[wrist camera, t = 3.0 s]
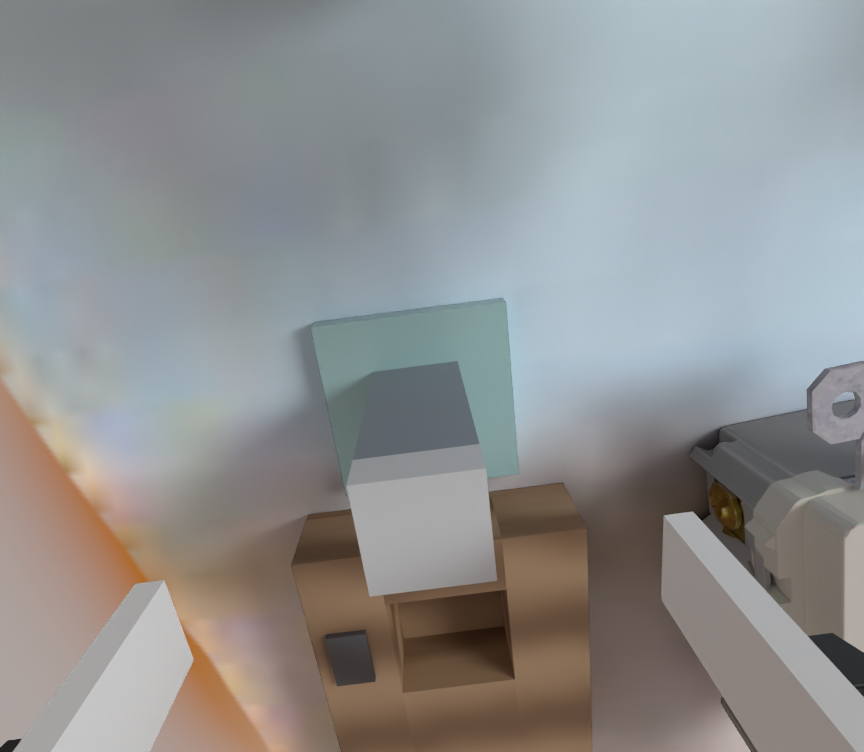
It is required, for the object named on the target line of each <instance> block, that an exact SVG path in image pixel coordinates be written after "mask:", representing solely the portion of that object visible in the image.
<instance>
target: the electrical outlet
mask: <svg viewBox="0 0 864 752" xmlns="http://www.w3.org/2000/svg"><path fill="white" fill-rule="evenodd" d="M843 392H853V393H854V396H855V399H856V400H851V401H846V402H841V403H836V404H833V401H834V399H835V398H837V397H838V396H839V395H840V394H842V393H843ZM719 439H720V441H719V443H718V445H717V446H716V447H715V448H714V449H711V450H705V449H702V448H699V447H697V446H695V447H694V448H693V450H692V452H691V454H690V455H689V456H690V457H691V458H692V459H693V460H694V461H696V462H697V463H698V464H699V465H700V466H702V467H703V468H704V469H705V470H706V476H707V489H708V502H709V511H710V513H711V514H710V515H709V516H708V517H706V518H705V519H704V520H703V521H702V522H703V523H704V524H705V525H706V526H707V527H708V528H709V530H710V531H711V532H712V533H713V534H714V535H715V536H716V537H717V538H718V539H719V540H720V542H721V543H722V544H723V545H724V546H725V547H726V548H727V549H728V550H729V551H730V552H731V553H732V555H733V556H734V557H735V558H736V559H737V560H738V561H739V562H740V563H741V564H742V565H743V566H744V568H745V569H746V570H747V571H748V572H749V573H750V574H751V575H752V576H753V577H754V578H755V580H756V581H757V582H758V583H759V584H760V585H761V586H762V587H763V588H764V589H765V590H766V591H767V593H768V594H769V595H770V596H771V597H772V598H773V599H774V600H775V601H776V602H777V603H778V605H779V606H780V607H781V608H782V609H783V610H784V611H785V612H786V613H787V614H788V615H789V616H790V618H791V619H792V620H793V621H794V622H795V623H796V624H797V625H798V626H799V627H800V628H801V629H802V631H803V632H804V633H805V634H806V635H807V636H811V635H819V634H827V633H834V634H835V635H837V636H838V637H840V638H841V639H843V640H845V641H846V642H848V643H849V644H851V645H852V646H854V647H856V648H857V649H859V650H860V651H862V652H864V361H860V362H855V363H850V364H845V365H840V366H836V367H831V368H826V369H824V370H823V372H822V373H821V374H820V375H819V376H818V377H817V378H816V380H815V381H814V382H813V383H812V384H811V385H810V386H809V388H808V389H807V410H802V411H797V412H792V413H787V414H783V415H778V416H773V417H768V418H763V419H758V420H753V421H748V422H744V423H739V424H734V425H729V426H725V427H723V428H721V429H720V431H719ZM721 703H722V705H723V708H724V709H725V711H726V713H727V714H728V716H729V717H730V719H731V721H732V722H733V724H734V725H735V727H736V728H737V730H738V732H739V733H740V735H741V736H742V738H743V739H744V741H745V743H746V744H747V746H748V747H749V749H750V751H751V752H758V751H757V750H756V748H755V747H754V745H753V744H752V742H751V740H750V739H749V737H748V736H747V734H746V733H745V731H744V729H743V728H742V726H741V725H740V723H739V721H738V720H737V718H736V717H735V715H734V714H733V712H732V710H731V709H730V707H729V706H728V704H727V703H726V701H725V699H724V698H723V697H722V698H721Z"/></svg>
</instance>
